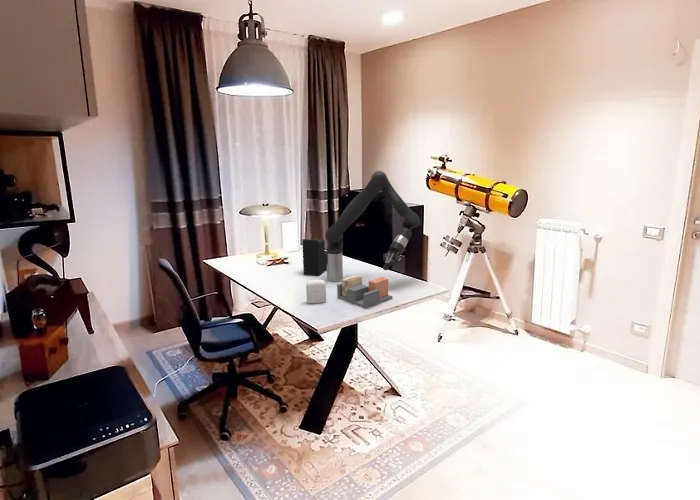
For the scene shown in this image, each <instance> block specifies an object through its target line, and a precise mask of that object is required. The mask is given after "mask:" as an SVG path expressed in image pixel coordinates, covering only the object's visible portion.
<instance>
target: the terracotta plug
mask: <svg viewBox="0 0 700 500" xmlns="http://www.w3.org/2000/svg"><path fill="white" fill-rule="evenodd" d="M368 286H369V292H370V291H373V290H376V289H378V290H380V298H381V297H384V296H386V295H389V278H387V277H384V276H379V277H377V278H374V279H370V280H368Z"/></svg>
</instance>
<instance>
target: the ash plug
mask: <svg viewBox="0 0 700 500" xmlns="http://www.w3.org/2000/svg"><path fill="white" fill-rule="evenodd" d="M341 283H342V295H343V296H346V297H347V288H349V287H353V286H356V285H359V284H363V277H362V276H358V275H352V276H349V277H348V276H347V277H346V278H343V279H342V281H341Z"/></svg>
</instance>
